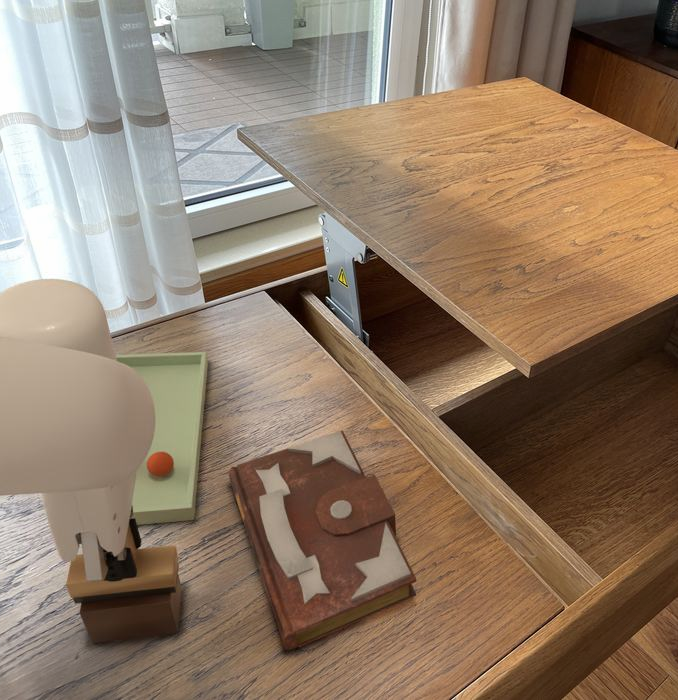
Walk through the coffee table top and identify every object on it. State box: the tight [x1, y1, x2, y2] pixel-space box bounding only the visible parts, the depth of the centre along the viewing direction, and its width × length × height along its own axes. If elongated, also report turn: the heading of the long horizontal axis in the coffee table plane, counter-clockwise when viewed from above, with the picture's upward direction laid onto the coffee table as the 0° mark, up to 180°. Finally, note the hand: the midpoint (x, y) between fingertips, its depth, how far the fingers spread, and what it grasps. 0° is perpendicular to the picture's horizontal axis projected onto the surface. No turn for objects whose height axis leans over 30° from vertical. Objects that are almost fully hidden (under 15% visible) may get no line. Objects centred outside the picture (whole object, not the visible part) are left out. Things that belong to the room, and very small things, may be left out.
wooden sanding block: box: [65, 524, 180, 605], centre depth 67 cm, size 3×9×10 cm, turn 102°
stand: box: [79, 574, 183, 644], centre depth 72 cm, size 5×8×6 cm, turn 102°
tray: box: [116, 351, 209, 526], centre depth 91 cm, size 27×13×2 cm, turn 12°
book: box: [227, 429, 417, 651], centre depth 82 cm, size 23×16×5 cm
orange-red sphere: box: [147, 452, 174, 477], centre depth 86 cm, size 3×3×3 cm
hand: (121, 560), depth 67 cm, fingers closed on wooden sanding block, 2 cm apart
